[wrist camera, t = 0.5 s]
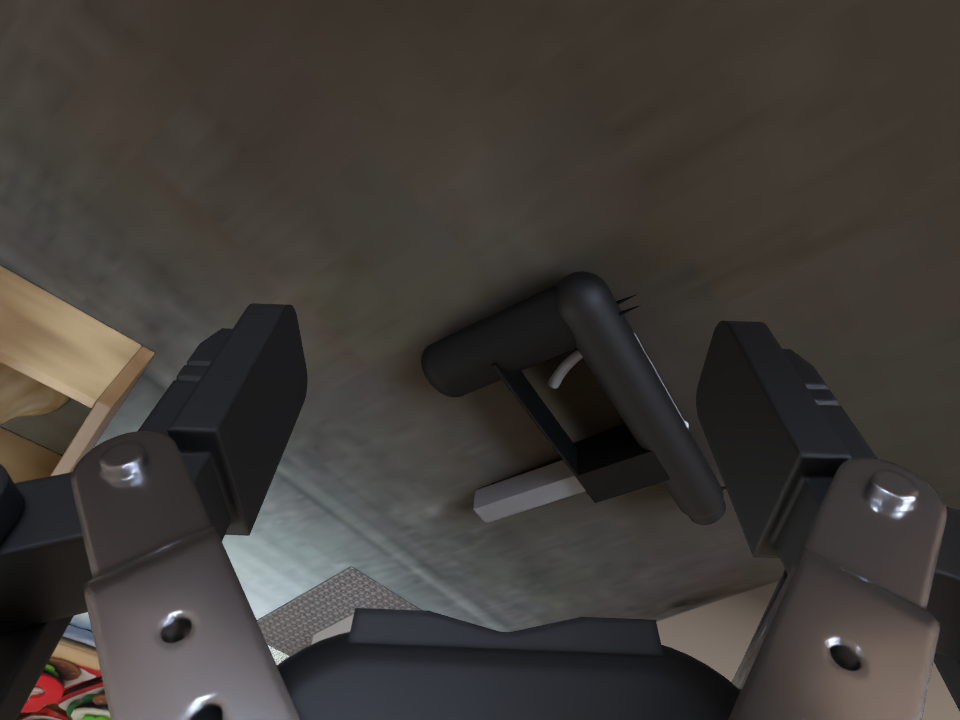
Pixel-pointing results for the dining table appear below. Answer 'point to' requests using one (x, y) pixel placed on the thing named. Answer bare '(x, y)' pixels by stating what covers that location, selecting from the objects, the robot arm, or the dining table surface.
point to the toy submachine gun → (534, 339)
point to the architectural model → (326, 611)
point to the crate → (62, 370)
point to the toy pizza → (69, 683)
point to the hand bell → (25, 395)
